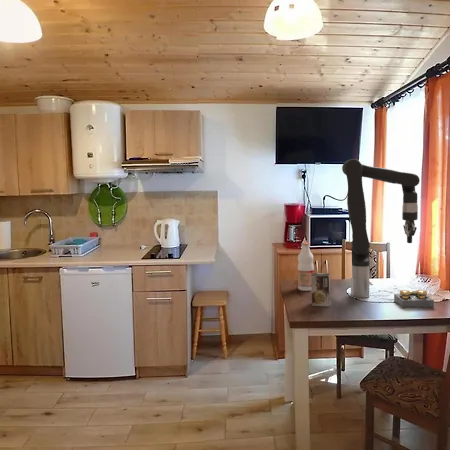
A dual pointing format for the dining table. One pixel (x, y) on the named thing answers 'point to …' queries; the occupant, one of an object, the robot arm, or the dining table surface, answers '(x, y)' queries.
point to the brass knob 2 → (421, 293)
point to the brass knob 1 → (405, 293)
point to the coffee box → (320, 289)
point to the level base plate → (414, 301)
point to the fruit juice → (305, 268)
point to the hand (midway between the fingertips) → (409, 242)
